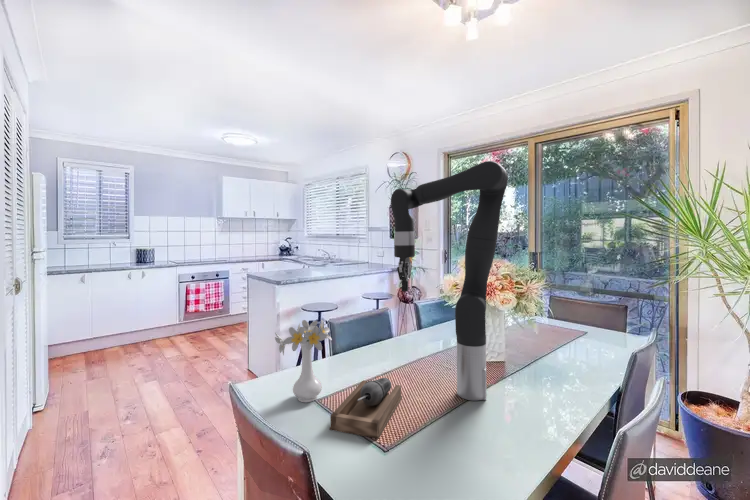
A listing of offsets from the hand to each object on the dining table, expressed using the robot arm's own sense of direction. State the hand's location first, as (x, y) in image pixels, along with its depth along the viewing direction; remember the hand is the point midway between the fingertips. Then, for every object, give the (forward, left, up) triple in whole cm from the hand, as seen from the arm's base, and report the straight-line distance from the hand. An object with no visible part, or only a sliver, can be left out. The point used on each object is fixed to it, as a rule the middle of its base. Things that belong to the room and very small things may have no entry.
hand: (405, 291), depth 127 cm
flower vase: (+26, +27, -32) cm, 50 cm away
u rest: (+4, +29, -32) cm, 43 cm away
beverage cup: (+4, +14, -30) cm, 33 cm away
